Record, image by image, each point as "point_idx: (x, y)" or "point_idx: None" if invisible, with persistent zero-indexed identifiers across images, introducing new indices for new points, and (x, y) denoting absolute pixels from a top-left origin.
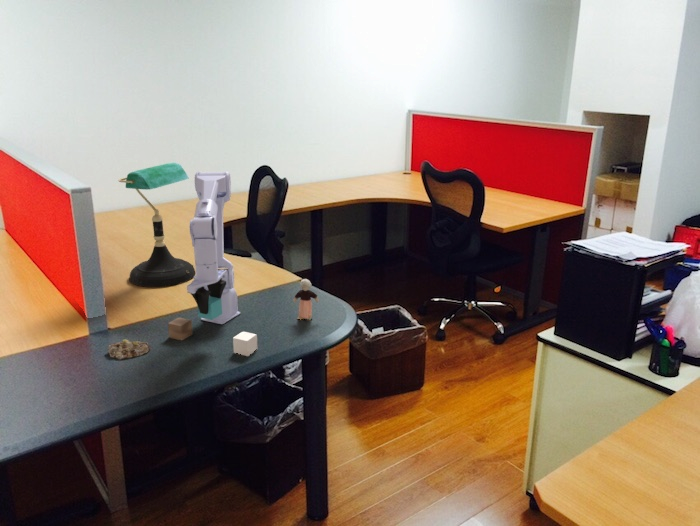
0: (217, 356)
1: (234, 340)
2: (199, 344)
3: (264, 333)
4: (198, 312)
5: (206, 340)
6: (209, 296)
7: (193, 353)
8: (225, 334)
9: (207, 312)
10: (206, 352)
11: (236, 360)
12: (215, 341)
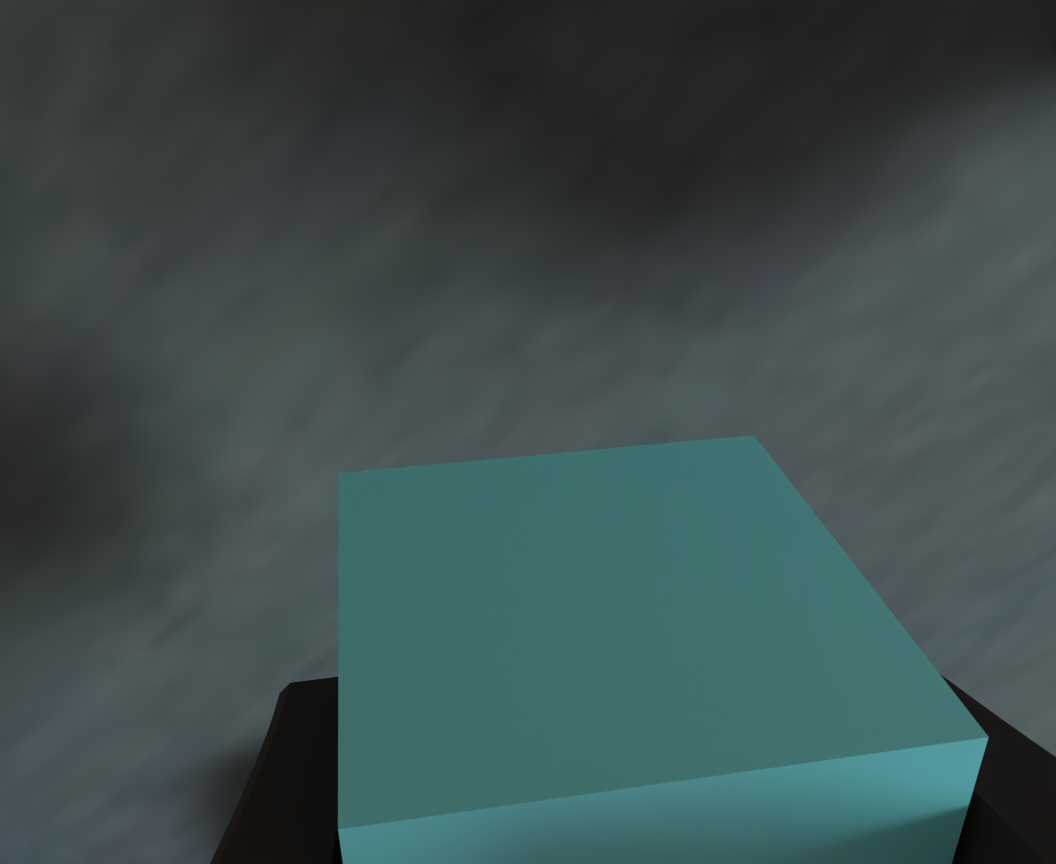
0: (207, 627)
1: None
2: (346, 205)
3: (935, 656)
4: (343, 559)
5: (508, 205)
6: (957, 806)
7: (70, 333)
8: (782, 311)
9: None
10: (208, 458)
11: None
12: (538, 340)
